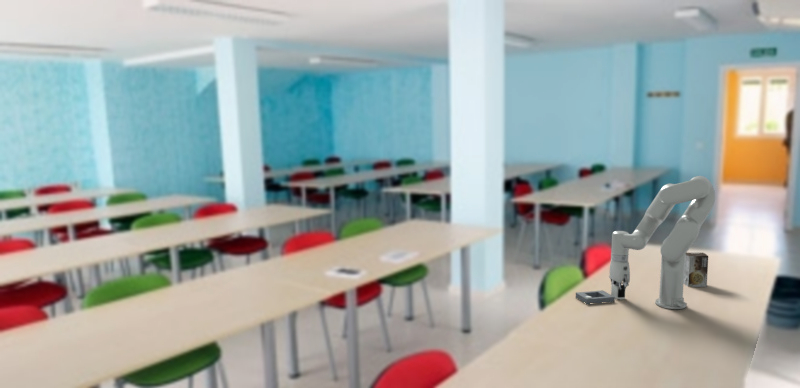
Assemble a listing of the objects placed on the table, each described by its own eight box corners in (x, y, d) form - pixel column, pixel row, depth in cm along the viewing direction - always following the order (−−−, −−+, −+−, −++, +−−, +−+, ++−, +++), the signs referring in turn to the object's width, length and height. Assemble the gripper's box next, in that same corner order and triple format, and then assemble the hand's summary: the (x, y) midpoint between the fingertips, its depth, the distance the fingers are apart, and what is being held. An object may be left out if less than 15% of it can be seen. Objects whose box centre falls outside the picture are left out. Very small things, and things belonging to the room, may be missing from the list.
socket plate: (614, 302, 261) (614, 295, 261) (586, 304, 259) (586, 298, 258) (602, 295, 271) (602, 289, 271) (575, 297, 268) (575, 291, 268)
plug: (624, 299, 265) (625, 282, 264) (616, 299, 265) (617, 283, 263) (619, 296, 270) (620, 279, 269) (611, 296, 269) (611, 280, 268)
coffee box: (701, 283, 288) (703, 252, 285) (707, 287, 281) (709, 255, 279) (682, 283, 289) (684, 252, 286) (687, 286, 282) (689, 255, 280)
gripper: (637, 261, 257) (636, 300, 260) (616, 252, 273) (615, 289, 276) (622, 262, 256) (621, 301, 258) (602, 253, 272) (601, 290, 274)
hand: (618, 295), depth 267 cm, fingers closed on plug, 4 cm apart
